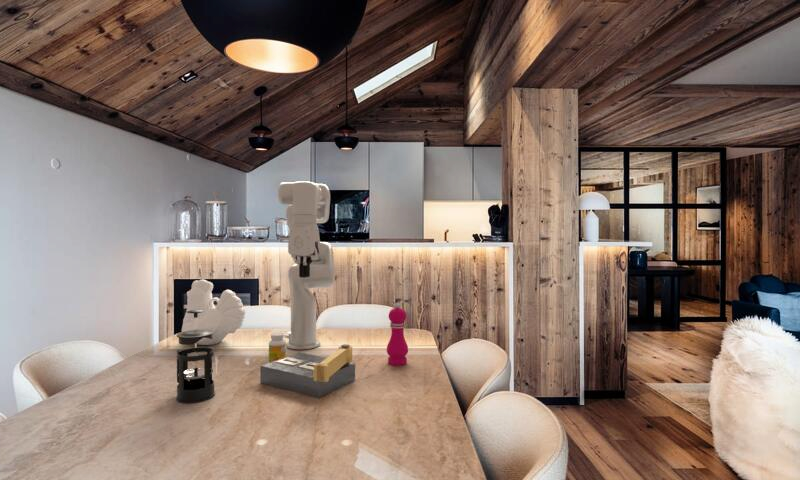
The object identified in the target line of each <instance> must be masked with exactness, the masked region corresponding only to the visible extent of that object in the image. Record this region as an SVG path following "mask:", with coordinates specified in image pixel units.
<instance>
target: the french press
mask: <svg viewBox="0 0 800 480" xmlns="http://www.w3.org/2000/svg"><path fill="white" fill-rule="evenodd" d="M186 311H187V310H186ZM201 312H204V310H200V309H196V310H190V311H187V313H194V318H195V330H190V331H184V332H182V331H181V332H179V333H177V334H176V337H177V338H178V344H179V345H182V346H192V345H194V347H189V348H182V349H178V350H176V383H178V384H177V385H176V398H175V400H176V402H178V403H181V404H196V403H200V402H201V403H202V402H205V401H208V400H211V399H212V398H214V396H215V395H216V391H215V380H214V379H213V372H214V369H213V357H214V356H215V349H214V348H213V347H207V346H197V345H198V344H197V342H198V341H199V340H201V339H202V338H210V339H212V334H214V331H213V330H205V329H201V330H197V325H196V318H197V317H198V313H201ZM193 353H194V355H191V356H190V355H189V354H193ZM197 353H204V354H200V355H198V354H197ZM198 361H203V362H204V366H203V367H198V366H197V364H198V363H197V362H198ZM189 362H194V367H193V368H189Z"/></svg>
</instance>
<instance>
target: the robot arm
mask: <svg viewBox="0 0 800 480" xmlns="http://www.w3.org/2000/svg"><path fill="white" fill-rule="evenodd" d="M277 189H278V190H277V198H278V201H279V203H280V204H281V205H284V206H287V207H286V211H285V218H286V219H285V220H286V223H287V226H288V230H289V232H288V233H289V234H288V243H287V245H288V246H287V248H288V249H287V252H288V254H289V255H290V257H291V258H292V260H293V262H294V263H295V264H292V265H291V266H290V267H289V268H288V271H287V272H288V274H287V275H288V284H289V292H290V293H289V294H290V331H288V332H287V333H286V334H284V338H285V339H288V341H287V342H286V348H288V349H290V350H310V349H311V350H312V349H315V348H318V347H319V346H321V341H320V340H319V339H317V300H316V297H315V294H314V293H313V292H312V291H311V290H310V289H315V288H316V289H321V288H331V287H333V285H334V284H335V281H336V271H335V270H336V269H335V259H334V256H335V255H334V249H333V246H332V244H331V243H330V242H326V241H321V239H320V231H319V226H318V225H317V224H325V223H327V222H328V221H329V216H330V207H331V206H330V205H331V191H330V189H329V187H328V186H327V184H323V183H315V182H312V181H306V180H305V181H302V180H301V181H295V182H292V181H291V182H289V181H287V182H286V181H284V182H281V183H280V184H279V186H278V188H277Z"/></svg>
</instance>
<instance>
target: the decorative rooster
mask: <svg viewBox="0 0 800 480" xmlns="http://www.w3.org/2000/svg"><path fill="white" fill-rule="evenodd" d="M213 289H214V284H213V282H211V281H208V280H206V279H204V278H203V279H198V280H194V281H193V282H192V284H191V289H189V290H188V291H187V292H186V296H187V299H186V302H187V304H186V305H187V307H186V312H185V314H184V318H183V319H182V327H181V332H184V331H190V330H195V318H194V313H187V311H190V310H196V309H200V310H204V312H201V313H198V317H197V318H196V325H197V330H201V329H205V330H213V331H214V334H212V339H210V338H202V339H201V340H199V341H198V342H197V345H202V346H211V345H216V344H218V343H221V342H222V341H223V340H224V339H225V338H226V337H227V336H228V335H229V334H234V333H235V332H236V331H237V330H239V329H240V328H242V326H243V322H244V319H245V317H246V315H245V314H246V310H245V308H243V306H244V305H243V302H242V299H241V298H240V297H239V296H237V295H236V292H235V291H232V290H231V289H226V290H223V291H222V293H221V295H220V297H217V296H216V297H213V293H212V291H213ZM214 302H216V306H215V304H214Z"/></svg>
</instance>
